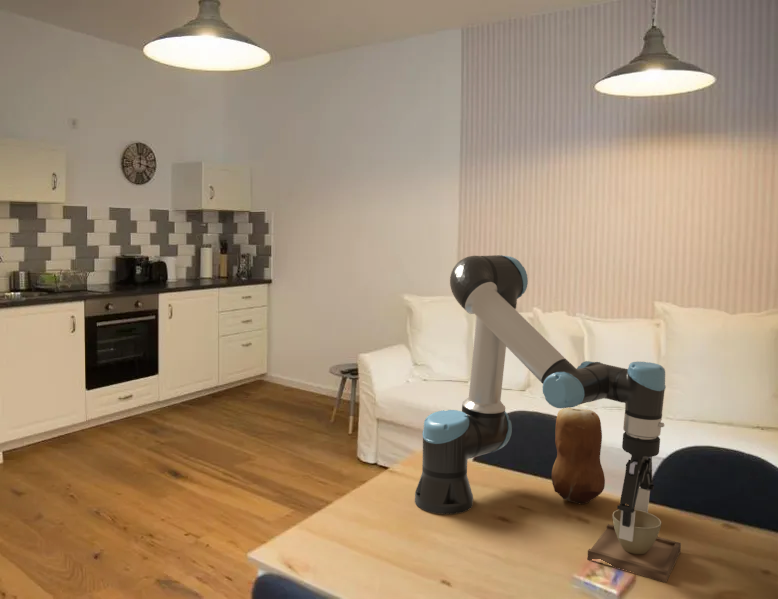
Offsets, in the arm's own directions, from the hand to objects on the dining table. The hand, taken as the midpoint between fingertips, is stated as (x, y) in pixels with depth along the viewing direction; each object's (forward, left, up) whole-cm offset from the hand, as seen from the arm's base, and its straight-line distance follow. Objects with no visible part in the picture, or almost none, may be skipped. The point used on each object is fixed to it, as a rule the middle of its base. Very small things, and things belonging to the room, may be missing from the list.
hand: (633, 527), depth 142 cm
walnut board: (+1, 0, -6) cm, 6 cm away
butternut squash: (-19, +22, -7) cm, 30 cm away
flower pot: (0, 0, -5) cm, 5 cm away
